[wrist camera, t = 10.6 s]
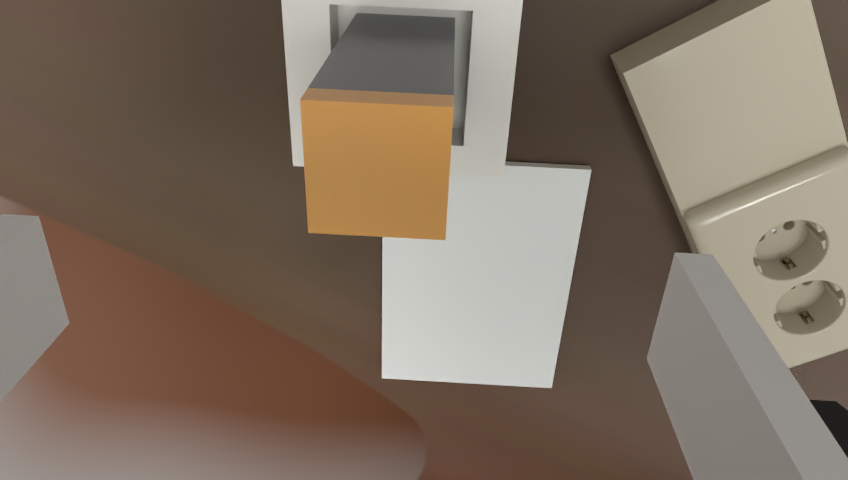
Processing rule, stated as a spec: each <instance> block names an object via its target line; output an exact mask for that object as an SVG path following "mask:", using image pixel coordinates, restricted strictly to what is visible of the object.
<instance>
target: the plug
mask: <svg viewBox="0 0 848 480" xmlns="http://www.w3.org/2000/svg"><path fill="white" fill-rule="evenodd" d="M454 54H455V18H453V17H432V16H410V15H389V14H368V13H356V15H355V16H354V18H353V19H352V21H351V22H350V24H349V25H348V27H347V28H346V30H345V32H344V33H343V35H342V36H341V38H340V39H339V41H338V42H337V44H336V45H335V47H334V48H333V50H332V51H331V53H330V55H329V56H328V58H327V59H326V61H325V62H324V64H323V65H322V67H321V68H320V70H319V71H318V73H317V74H316V76H315V77H314V79H313V81H312V82H311V84H310V85H309V87H308V88H307V90H306V91H305V93H304V94H303V96H302V97H301V99H300V108H301V124H302V140H303V156H304V172H305V188H306V204H307V220H308V233H320V234H338V235H357V236H375V237H394V238H412V239H431V240H445V239H446V223H447V207H448V191H449V175H450V159H451V142H452V126H453V110H454Z"/></svg>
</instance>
